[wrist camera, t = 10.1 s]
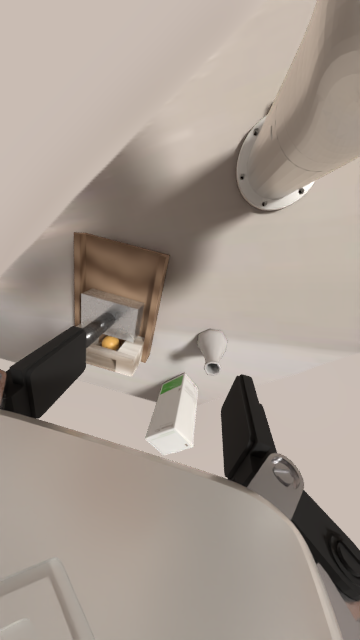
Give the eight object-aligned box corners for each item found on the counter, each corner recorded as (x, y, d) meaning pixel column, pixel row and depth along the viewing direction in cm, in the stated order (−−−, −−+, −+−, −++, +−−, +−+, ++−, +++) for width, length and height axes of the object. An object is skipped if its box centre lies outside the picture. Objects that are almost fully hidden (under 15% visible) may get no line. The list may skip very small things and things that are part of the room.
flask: (199, 356, 47) (197, 385, 38) (194, 330, 44) (189, 354, 35) (229, 353, 45) (234, 382, 36) (225, 326, 42) (230, 350, 33)
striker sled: (92, 288, 42) (45, 309, 30) (144, 303, 41) (118, 329, 29) (91, 320, 45) (49, 350, 33) (139, 333, 44) (113, 369, 33)
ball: (100, 351, 45) (108, 337, 47) (116, 356, 45) (123, 341, 47) (96, 345, 42) (104, 330, 44) (113, 350, 42) (120, 334, 44)
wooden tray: (85, 232, 39) (45, 231, 29) (169, 255, 38) (156, 261, 29) (83, 335, 49) (54, 358, 40) (149, 354, 49) (135, 382, 39)
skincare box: (185, 371, 49) (175, 426, 35) (199, 389, 51) (195, 447, 37) (161, 384, 52) (142, 438, 38) (175, 399, 54) (162, 458, 40)
